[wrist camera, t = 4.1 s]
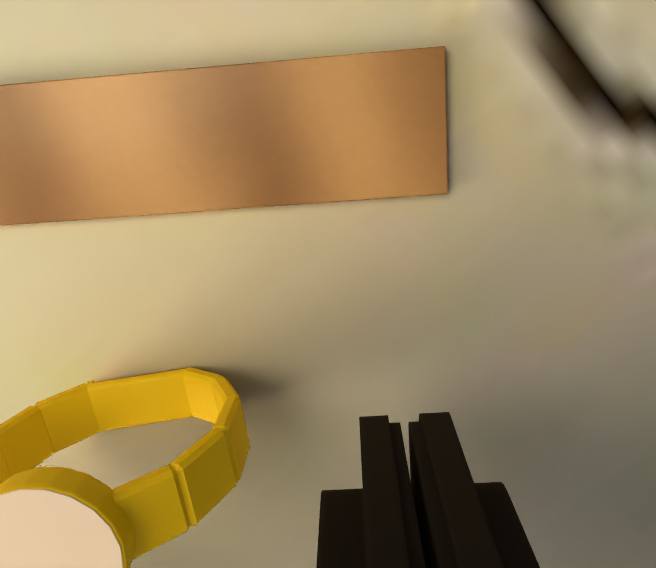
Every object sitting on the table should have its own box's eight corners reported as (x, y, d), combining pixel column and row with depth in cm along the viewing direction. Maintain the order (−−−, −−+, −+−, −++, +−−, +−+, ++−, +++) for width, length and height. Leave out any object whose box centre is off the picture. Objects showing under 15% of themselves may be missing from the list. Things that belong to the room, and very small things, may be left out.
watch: (61, 450, 16) (-101, 637, 10) (31, 361, 15) (-161, 509, 10) (269, 426, 16) (219, 610, 10) (249, 333, 15) (184, 472, 9)
